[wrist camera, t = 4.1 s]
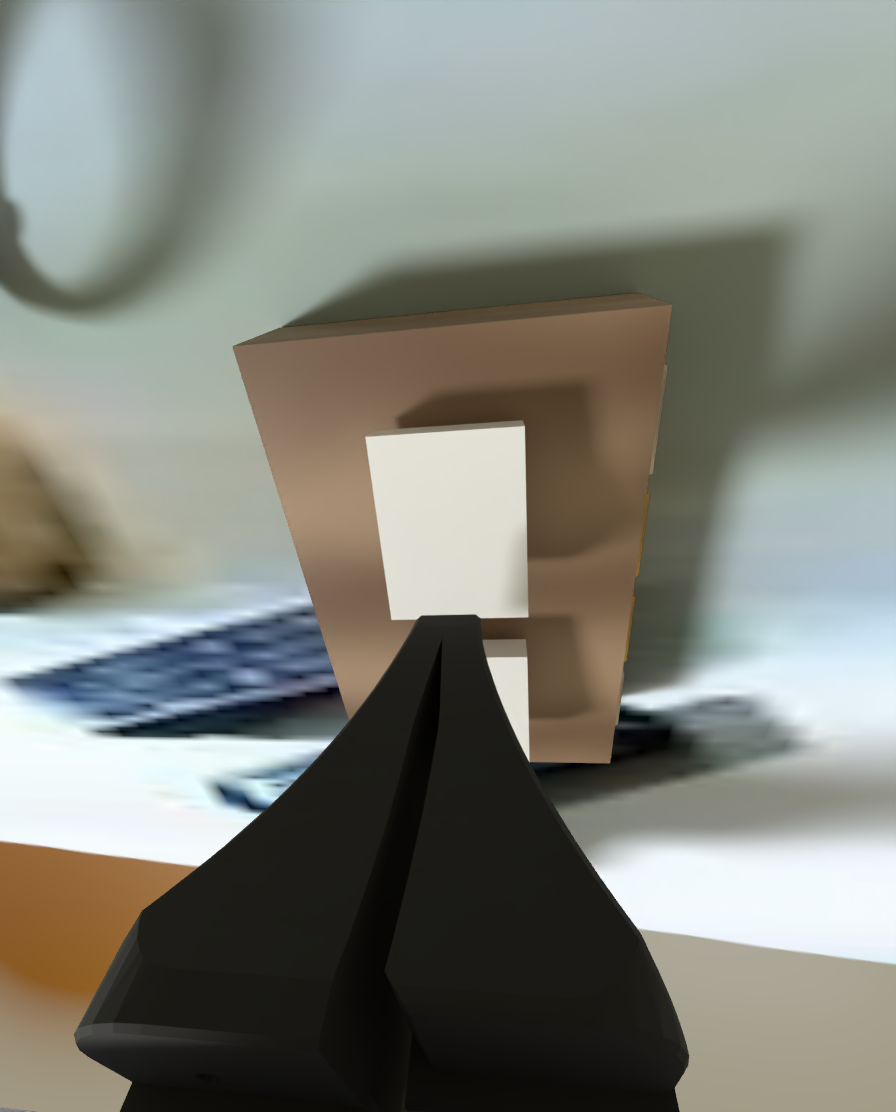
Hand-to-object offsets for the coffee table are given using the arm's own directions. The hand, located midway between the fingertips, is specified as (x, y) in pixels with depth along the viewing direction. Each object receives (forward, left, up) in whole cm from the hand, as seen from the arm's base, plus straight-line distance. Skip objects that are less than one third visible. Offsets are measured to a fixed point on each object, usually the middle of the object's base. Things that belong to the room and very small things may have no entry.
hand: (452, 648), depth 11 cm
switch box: (-2, 0, -7) cm, 7 cm away
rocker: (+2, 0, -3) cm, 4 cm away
